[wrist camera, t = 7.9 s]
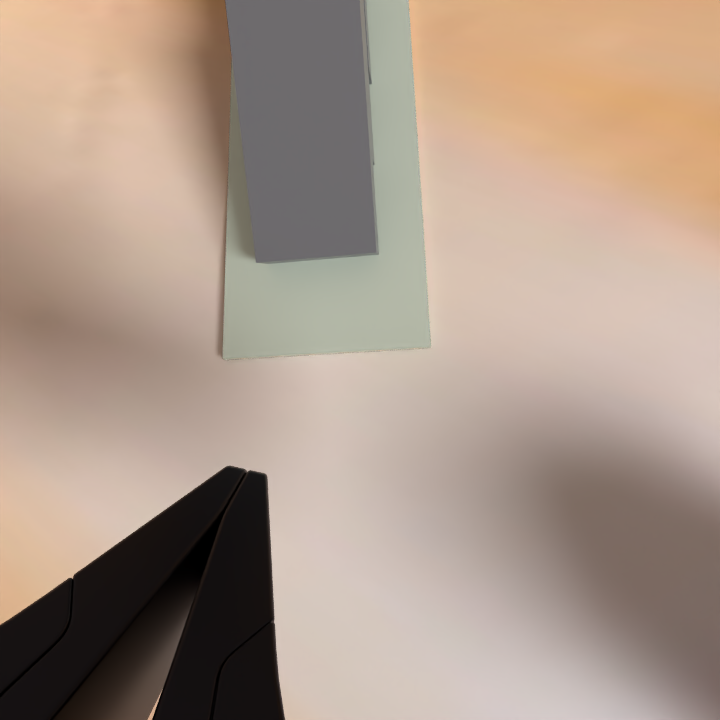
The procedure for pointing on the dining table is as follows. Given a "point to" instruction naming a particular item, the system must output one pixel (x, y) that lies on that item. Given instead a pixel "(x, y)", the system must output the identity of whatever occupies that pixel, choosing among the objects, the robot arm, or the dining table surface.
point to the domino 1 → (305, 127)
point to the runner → (350, 274)
